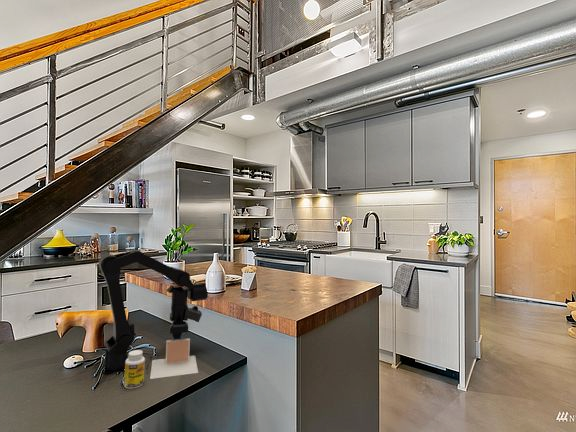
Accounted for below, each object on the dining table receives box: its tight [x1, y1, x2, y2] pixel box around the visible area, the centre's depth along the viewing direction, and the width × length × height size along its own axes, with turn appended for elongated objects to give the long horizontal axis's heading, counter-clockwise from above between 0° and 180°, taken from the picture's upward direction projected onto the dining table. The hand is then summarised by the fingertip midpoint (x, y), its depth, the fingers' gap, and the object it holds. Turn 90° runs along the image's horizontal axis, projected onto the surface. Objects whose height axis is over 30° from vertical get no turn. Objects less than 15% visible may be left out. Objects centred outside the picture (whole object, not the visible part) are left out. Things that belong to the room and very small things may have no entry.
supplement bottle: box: [123, 349, 146, 390], centre depth 98 cm, size 6×6×10 cm
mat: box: [149, 355, 199, 380], centre depth 110 cm, size 15×14×1 cm
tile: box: [165, 338, 191, 364], centre depth 113 cm, size 8×2×8 cm, turn 111°
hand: (177, 343), depth 120 cm, fingers closed
